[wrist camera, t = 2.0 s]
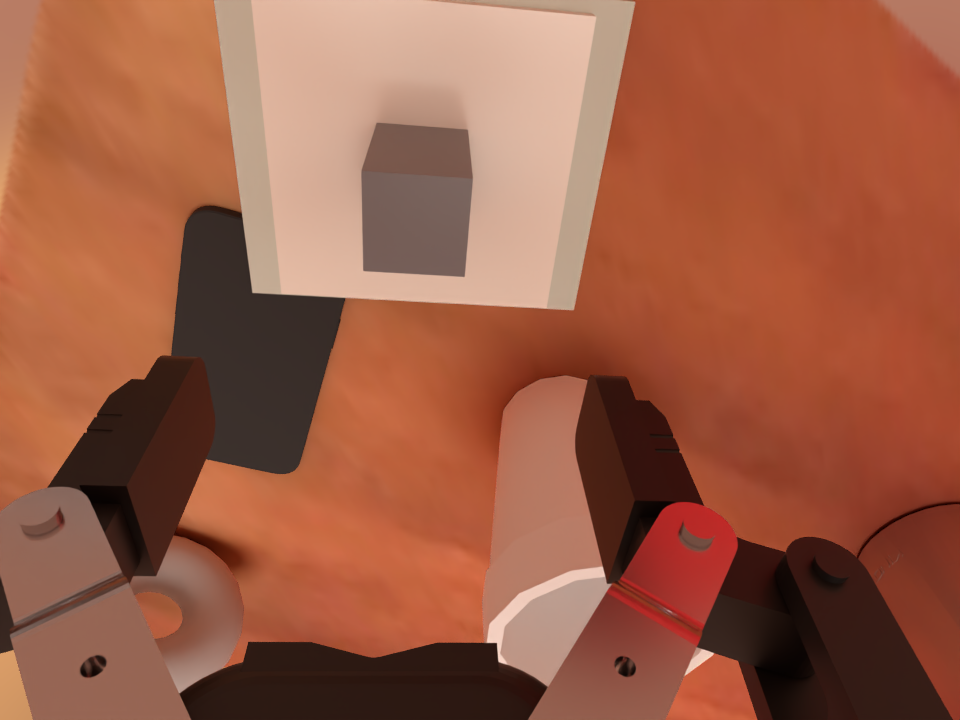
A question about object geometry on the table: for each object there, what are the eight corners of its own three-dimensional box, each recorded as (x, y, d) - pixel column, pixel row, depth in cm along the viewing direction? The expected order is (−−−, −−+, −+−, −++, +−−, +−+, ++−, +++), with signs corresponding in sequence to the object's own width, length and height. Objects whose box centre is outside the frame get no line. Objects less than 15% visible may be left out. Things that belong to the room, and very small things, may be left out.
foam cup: (593, 320, 32) (667, 528, 21) (670, 433, 36) (762, 649, 26) (439, 408, 35) (436, 630, 24) (528, 502, 39) (559, 723, 29)
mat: (631, -1, 24) (635, 1, 23) (571, 303, 31) (573, 310, 31) (213, -41, 22) (208, -40, 22) (255, 286, 30) (252, 292, 29)
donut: (269, 550, 41) (225, 711, 33) (250, 580, 42) (204, 740, 34) (105, 498, 37) (9, 663, 29) (91, 533, 39) (-3, 698, 31)
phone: (159, 449, 35) (185, 202, 27) (165, 439, 36) (191, 194, 28) (296, 478, 37) (358, 254, 29) (299, 468, 37) (360, 246, 29)
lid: (592, 13, 23) (633, 43, 18) (544, 299, 30) (564, 379, 25) (255, -19, 22) (198, 3, 17) (284, 285, 29) (250, 365, 24)
